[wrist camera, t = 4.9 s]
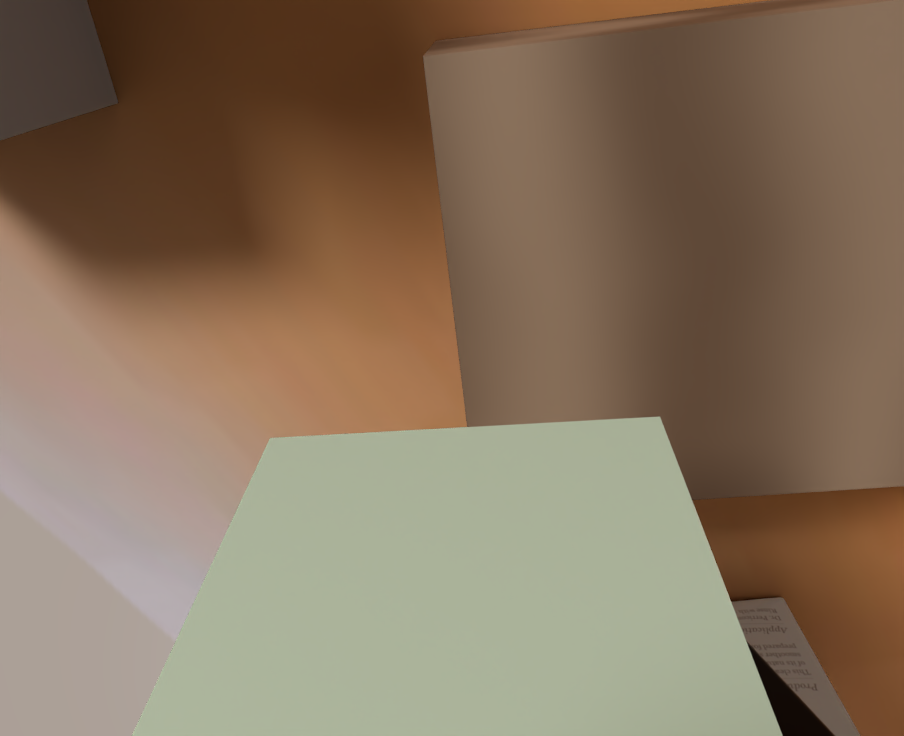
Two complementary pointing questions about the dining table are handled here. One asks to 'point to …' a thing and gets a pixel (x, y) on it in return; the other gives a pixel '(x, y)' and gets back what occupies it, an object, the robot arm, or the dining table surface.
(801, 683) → the skincare box
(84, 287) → the dining table surface
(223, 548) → the sage block
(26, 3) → the grey block
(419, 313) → the dining table surface
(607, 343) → the walnut slab
